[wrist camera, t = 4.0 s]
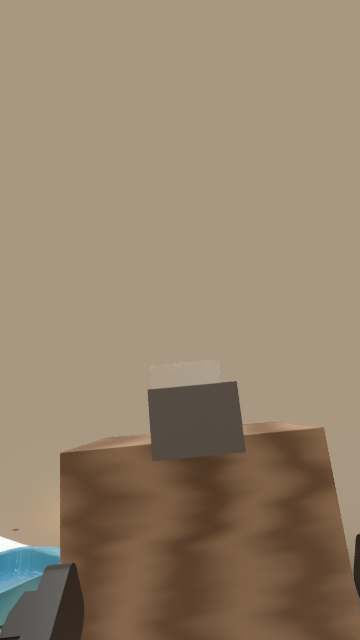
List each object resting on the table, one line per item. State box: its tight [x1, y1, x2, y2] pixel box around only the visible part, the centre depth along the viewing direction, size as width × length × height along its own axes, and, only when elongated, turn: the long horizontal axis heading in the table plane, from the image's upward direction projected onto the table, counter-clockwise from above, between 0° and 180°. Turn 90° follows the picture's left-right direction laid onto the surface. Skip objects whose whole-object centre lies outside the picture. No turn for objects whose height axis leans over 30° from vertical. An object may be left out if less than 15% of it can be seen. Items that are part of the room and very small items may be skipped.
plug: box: [148, 360, 246, 461], centre depth 24 cm, size 6×19×6 cm, turn 0°
